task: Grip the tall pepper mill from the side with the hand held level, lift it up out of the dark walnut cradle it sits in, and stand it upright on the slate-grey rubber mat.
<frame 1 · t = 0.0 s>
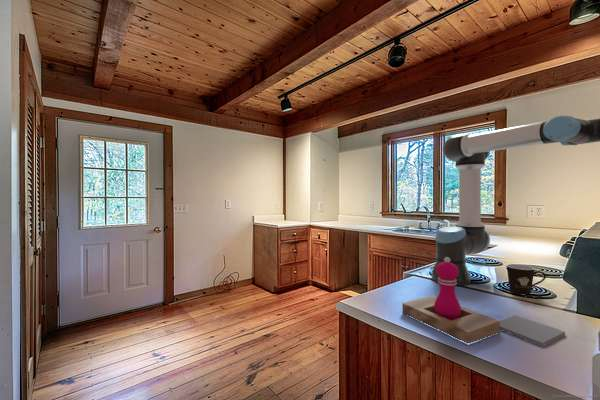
grey mat: (527, 331, 80), on the countertop
coffee mug: (524, 293, 109), on the countertop
pepper mill: (447, 323, 86), resting in walnut cradle
walnut cradle: (447, 322, 86), on the countertop
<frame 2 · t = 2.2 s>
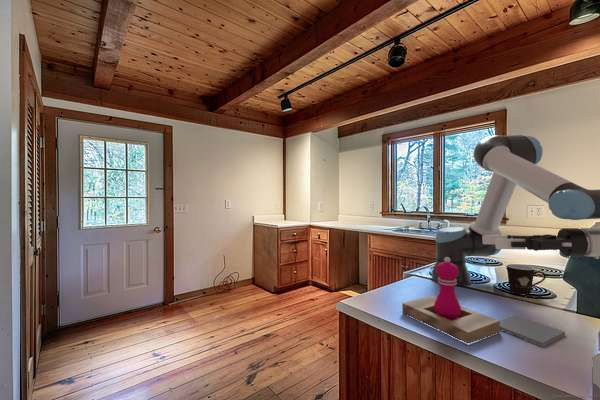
hand: (488, 241, 83), 25 cm above the countertop, tool horizontal, fingers open, 13 cm apart
nothing on the countertop moved.
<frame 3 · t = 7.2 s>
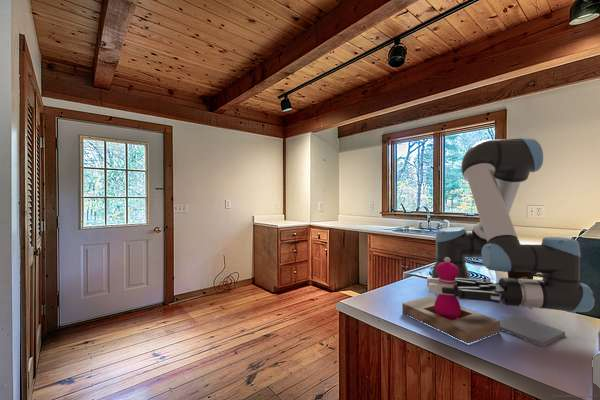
hand: (428, 285, 87), 11 cm above the countertop, tool horizontal, fingers closed on pepper mill, 5 cm apart
pepper mill: (447, 323, 86), resting in walnut cradle, touching gripper
everything else where it was.
when the fingers open (13 cm above the countertop, at t = 13.4 s): pepper mill drops 1 cm, resting on grey mat.
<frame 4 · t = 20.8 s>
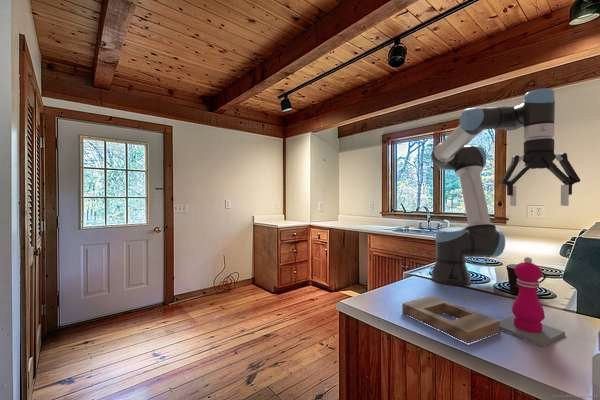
hand: (538, 205, 91), 35 cm above the countertop, tool pointing down, fingers open, 13 cm apart
pepper mill: (527, 328, 80), point 1 cm above the countertop, touching grey mat
everything else where it was.
at the end: pepper mill 0.0 cm from the grey mat (horizontally); pepper mill tilted 0°; the gripper is holding nothing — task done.
